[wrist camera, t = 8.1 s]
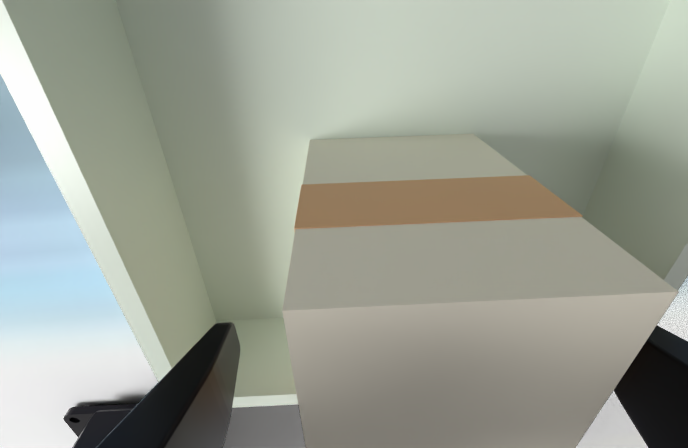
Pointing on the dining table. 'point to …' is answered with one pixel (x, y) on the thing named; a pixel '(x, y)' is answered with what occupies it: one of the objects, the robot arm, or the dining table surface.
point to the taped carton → (453, 301)
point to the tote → (330, 133)
